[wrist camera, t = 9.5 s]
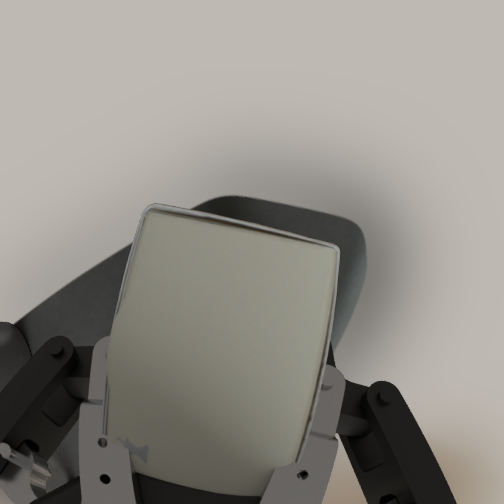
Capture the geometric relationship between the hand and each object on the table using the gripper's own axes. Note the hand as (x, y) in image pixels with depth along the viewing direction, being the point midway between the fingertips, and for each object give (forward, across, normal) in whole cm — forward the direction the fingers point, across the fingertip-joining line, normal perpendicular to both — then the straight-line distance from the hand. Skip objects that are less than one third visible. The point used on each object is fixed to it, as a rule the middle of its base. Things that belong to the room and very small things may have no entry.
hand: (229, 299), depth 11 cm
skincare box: (+3, 0, +6) cm, 6 cm away
